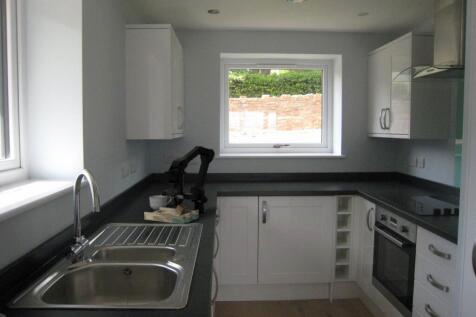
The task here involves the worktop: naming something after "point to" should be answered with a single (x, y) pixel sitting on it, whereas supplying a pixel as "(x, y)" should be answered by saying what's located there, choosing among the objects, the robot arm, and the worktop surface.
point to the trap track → (171, 215)
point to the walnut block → (181, 209)
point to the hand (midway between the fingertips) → (177, 209)
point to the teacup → (158, 201)
